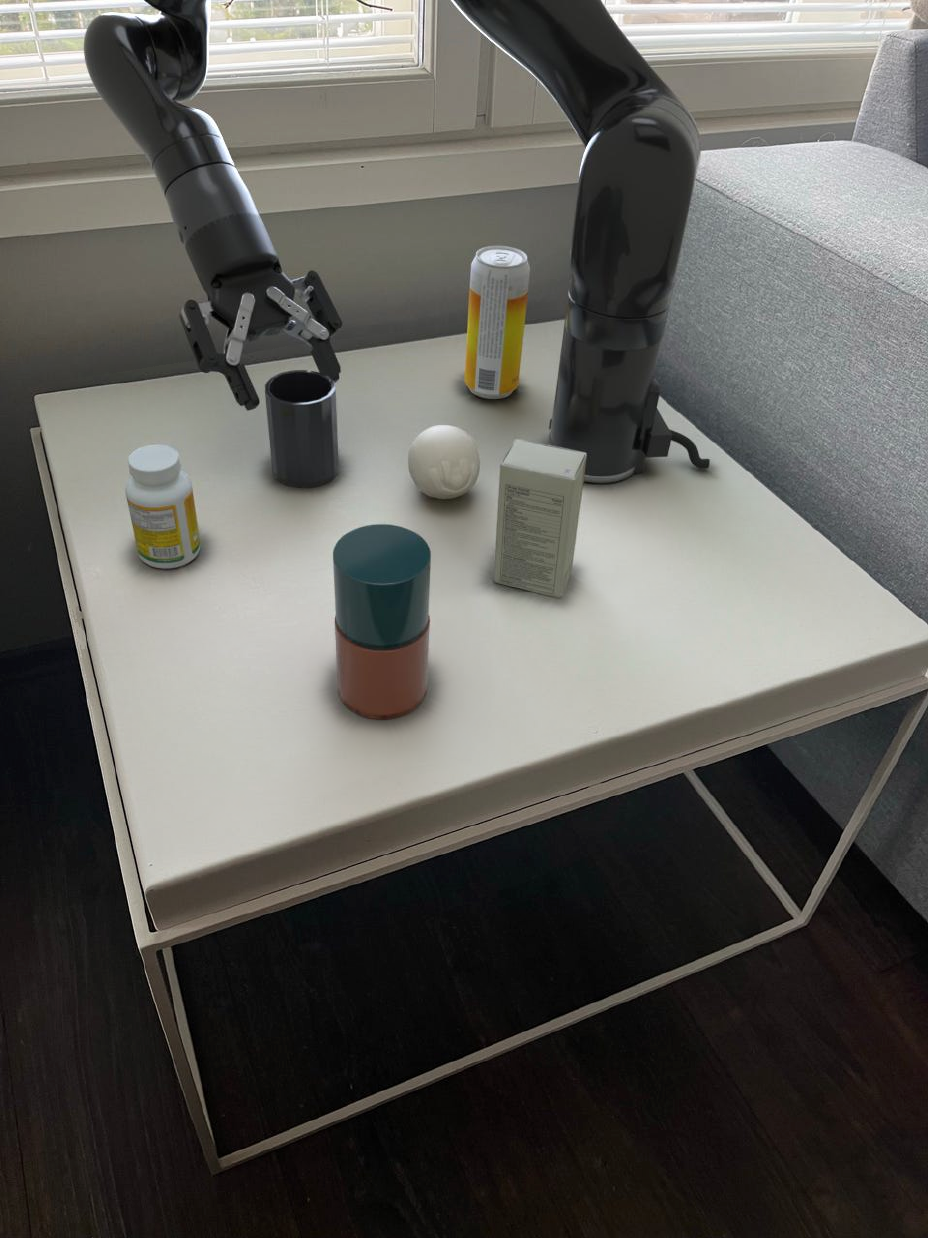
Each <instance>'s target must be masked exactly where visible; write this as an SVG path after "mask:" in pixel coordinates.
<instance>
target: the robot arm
mask: <svg viewBox="0 0 928 1238" xmlns="http://www.w3.org/2000/svg"><path fill="white" fill-rule="evenodd" d="M450 1H451V2H452V3H453V4H454V6H455V7H456V8H457V9H458V11H459V12H461V14H462V15H463V16H464V17H465V19H466V20H468V21H469V22H470V23H471V24H472V25H473V26H474V27H475V28H476V29H477V30H478V31H480V33H482V34H483V35H484V36H485V37H486V38H488V39H489V41H491V42H492V43H493V44H494V45H495V46H497V47H498V48H499V49H501V50H502V51H503V52H504V53H505V54H507V55H508V56H510V57H511V58H512V59H513V60H515V61H516V62H517V63H518V64H519V65H521V66H522V67H523V68H524V69H526V70H527V71H528V73H530V74H531V75H532V76H534V78H536V80H538V82H539V83H540V84H541V85H542V86H543V87H544V88H545V89H546V91H547V92H548V93H549V95H551V98H553V100H554V101H555V102H556V104H557V106H558V107H559V108H560V110H561V111H562V112H563V114H564V116H565V118H566V119H567V120H568V122H569V123H570V125H571V126H572V128H573V129H574V131H575V133H576V135H577V137H578V138H579V140H580V141H581V143H582V144H583V147H584V148H585V151H584V153H583V157H582V159H581V164H580V169H579V174H578V175H579V176H578V182H577V189H576V197H575V205H574V215H573V224H572V232H571V233H572V234H571V241H570V242H571V243H570V250H569V251H570V252H569V272H570V273H569V274H570V275H569V285H568V291H567V301H566V308H565V313H564V314H565V316H564V322H563V323H564V324H563V331H562V337H561V346H560V354H559V362H558V368H557V369H558V370H557V377H556V385H555V393H554V400H553V408H552V415H551V419H549V424H548V425H549V426H548V430H550V431H549V435H548V442H547V445H552V446H556V447H562V448H566V449H571V450H576V451H580V452H585V453H586V454H587V456H586V465H585V473H584V481H583V482H587V483H594V484H608V483H609V484H610V483H614V482H619V481H622V480H625V479H627V478H629V477H630V476H633V474H640V473H641V474H642V473H644V470H645V466H646V462H647V461H646V460H647V458H667V457H668V456H669V451H670V448H671V443H672V442H674V443H677V444H679V445H680V446H682V447H683V448H684V449H685V450H686V451H687V454H688V458H689V460H690V463H691V464H692V465H693V466H694V467H696V468H698V469H701V470H702V469H703V470H705V469H709V468H710V462H711V461H710V458H701V457H700V454H699V450H698V446H697V445H696V443H695V442H693V441H692V439H690V438H689V437H687V436H686V435H684V434H682V433H680V432H677V431H676V430H672V429H670V427H668V424H667V423H666V421H665V420H664V417H663V416H662V414H661V412H660V410H659V409H658V404H659V400H660V395H661V394H660V393H661V386H660V384H659V382H658V380H657V379H656V375H657V370H658V366H659V365H658V364H659V361H660V356H661V349H662V345H663V341H664V336H665V330H666V325H667V320H668V316H669V311H670V305H671V302H672V296H673V293H674V288H675V283H676V277H677V274H678V267H679V261H680V256H681V251H682V247H683V240H684V237H685V232H686V227H687V223H688V218H689V214H690V208H691V204H692V198H693V194H694V189H695V183H696V178H697V174H698V170H699V166H700V161H701V153H702V144H701V135H700V131H699V128H698V125H697V122H696V120H695V119H694V117H693V115H692V113H691V112H690V111H689V108H687V106H686V104H684V102H683V101H682V100H681V99H680V97H678V95H677V94H676V93H675V92H674V91H673V90H672V89H671V87H670V86H668V84H667V83H666V82H665V81H664V80H663V79H662V77H660V75H659V74H658V73H657V71H655V70H654V68H653V67H652V66H651V65H650V64H649V62H648V61H647V60H646V59H645V57H644V56H643V55H642V54H641V53H640V51H638V49H637V48H636V47H635V46H634V45H633V43H632V42H631V41H630V40H629V38H628V37H627V36H626V34H625V33H624V32H623V31H622V29H621V28H620V27H619V25H618V24H617V23H616V21H615V20H614V19H613V17H612V16H611V14H610V12H609V11H608V9H607V7H606V5H605V4H604V3H603V1H602V0H450ZM143 2H144V3H145V4H147V5H149V6H150V7H151V8H153V9H155V10H156V11H158V12H159V13H158V14H157V15H149V14H137V13H124V12H106V13H101V14H100V15H97V16H95V17H94V18H93V19H92V20H91V21H90V23H89V24H88V26H87V27H86V30H85V34H84V37H83V38H84V39H83V56H84V62H85V66H86V69H87V73H88V75H89V78H90V80H91V82H92V84H93V86H94V88H95V90H96V91H97V94H98V95H99V96H100V99H101V100H102V101H103V102H104V104H105V105H106V107H108V109H109V111H110V112H111V113H112V114H113V116H114V117H115V119H116V120H117V121H118V122H119V123H120V124H121V126H122V127H123V128H124V130H125V131H126V132H127V134H128V135H129V136H130V137H131V139H132V140H133V141H134V143H135V144H136V145H137V146H138V148H139V149H140V150H141V151H142V153H143V154H144V155H145V156H146V158H147V159H148V161H149V164H150V167H151V168H152V171H153V174H154V176H155V177H156V180H157V182H158V184H159V187H160V189H161V191H162V193H163V195H164V198H165V200H166V202H167V205H168V206H167V207H168V209H169V212H170V216H171V219H172V222H173V225H174V227H175V230H176V231H177V236H178V239H179V241H180V242H181V244H183V247H184V249H185V252H186V254H187V256H188V258H189V260H190V263H191V265H192V267H193V270H194V272H195V273H196V277H197V278H198V280H199V283H200V285H201V287H202V289H203V291H204V292H205V294H206V296H207V300H206V301H201V302H197V301H196V300H194V299H188V300H187V301H186V302H185V303H184V305H183V307H182V309H181V310H180V311H179V312H180V313H179V315H178V316H179V320H180V322H181V325H182V328H183V331H184V333H185V336H186V338H187V341H188V343H189V346H190V348H191V352H192V354H193V357H194V358H195V362H196V364H197V367H198V369H199V371H200V372H202V373H203V374H209V373H213V372H214V373H220V374H222V375H223V377H224V378H225V379H226V381H227V384H228V386H229V388H230V391H231V392H232V394H233V397H234V399H235V401H236V403H237V404H238V405H239V407H243V406H244V408H245V410H246V411H247V412H249V411H252V410H255V409H257V407H258V406H259V405H260V403H261V401H260V398H259V395H258V393H257V391H256V388H255V386H254V384H253V382H252V379H251V377H250V375H249V373H248V371H247V369H246V366H245V364H243V363H242V364H241V363H240V360H241V357H242V353H243V352H242V351H243V348H244V344H245V342H246V340H247V341H249V342H250V343H251V342H253V341H254V342H255V341H257V340H259V339H261V338H262V337H267V336H268V337H271V336H276V335H279V334H280V333H281V332H282V331H283V332H284V333H285V334H286V335H288V336H290V337H291V338H297V339H298V340H300V341H301V342H303V343H304V344H306V345H307V346H308V347H310V348H311V350H310V354H311V356H312V359H313V360H314V363H315V365H316V367H317V370H318V372H320V373H322V374H324V375H326V376H329V377H330V378H331V379H332V380H333V381H334V382H335V384H336V383H337V382H338V381H339V380H340V374H341V373H342V369H341V368H342V367H341V365H340V362H339V361H338V358H337V355H336V353H335V351H334V348H333V346H332V344H331V340H330V339H332V338H333V337H334V336H335V334H336V333H338V331H339V330H340V329H341V328H342V327H343V321H342V319H341V317H340V314H339V312H338V311H337V309H336V306H335V305H334V302H333V300H332V298H331V297H330V294H329V293H328V291H327V289H326V287H325V284H324V283H323V281H322V279H321V276H320V275H319V273H318V271H316V270H313V269H312V270H309V271H307V273H306V274H305V275H304V276H301V277H299V278H295V279H290V278H289V277H288V276H287V275H286V274H285V273H284V271H283V269H282V266H281V262H280V259H279V256H278V253H277V251H276V250H275V247H274V245H273V243H272V240H271V238H270V235H269V233H268V231H267V229H266V227H265V226H266V225H265V224H264V222H263V220H262V218H261V214H260V213H259V210H258V208H257V206H256V204H255V202H254V199H253V197H252V195H251V193H250V191H249V189H248V187H247V186H246V183H245V182H244V181H243V179H242V178H241V175H240V174H239V172H238V170H237V168H236V165H235V163H234V161H233V158H232V156H231V154H230V152H229V150H228V147H227V145H226V143H225V140H224V138H223V136H222V134H221V132H220V130H219V127H218V125H217V124H216V122H215V120H214V119H213V118H212V117H211V116H210V115H209V114H207V113H206V112H204V111H203V110H201V109H196V108H194V107H190V106H187V105H184V103H187V102H189V101H191V100H192V99H193V98H195V96H196V95H197V94H198V93H199V92H200V90H201V89H202V87H203V86H204V83H205V81H206V78H207V74H208V68H209V40H210V25H211V23H210V22H211V5H212V4H211V3H212V0H143ZM295 295H297V296H298V297H299V299H300V301H302V302H305V303H306V304H307V307H308V308H309V311H310V313H309V312H308V311H307V310H306V309H304V308H303V307H302V306H300V305H299V304H297V303H296V302H294V300H295V299H294V298H295ZM311 315H312V316H313V317H311ZM210 316H211V317H212V318H213V319H214V320H216V321H217V322H219V323H220V324H221V325H223V326H224V327H225V328H227V329H226V334H225V337H224V341H223V346H222V353H219V352H217V349H216V346H215V344H214V341H213V339H212V336H211V333H210V330H209V328H208V325H209V323H210ZM290 318H291V319H290Z"/></svg>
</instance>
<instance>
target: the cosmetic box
mask: <svg viewBox="0 0 928 1238" xmlns="http://www.w3.org/2000/svg"><path fill="white" fill-rule="evenodd" d="M586 456H587V454H586V453H585V452H580V451H576V450H571V449H566V448H562V447H556V446H552V445H548V443H542V442H536V441H532V440H526V439H520V438H515V439H514V441H513V442H512V444H511V445H510V447H508V449H507V451H506V452H505V455H504V456H503V458H502V459H501V461H500V463H499V478H498V493H497V494H498V495H497V513H496V529H495V546H494V560H493V561H494V562H493V564H494V565H493V577H492V580H493V582H494V583H495V584H500V585H504V586H508V587H510V588H516V589H519V590H524V591H527V592H528V591H529V592H533V593H537V594H543V595H546V596H550V597H555V598H561V597H562V595H563V593H564V591H565V589H566V587H567V584H568V582H569V580H570V577H571V574H572V571H573V567H574V566H573V564H574V557H575V549H576V544H577V543H576V541H577V534H578V527H579V520H580V519H579V518H580V511H581V503H582V496H583V489H584V488H583V487H584V482H585V481H584V473H585V465H586Z"/></svg>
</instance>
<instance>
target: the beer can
mask: <svg viewBox="0 0 928 1238" xmlns="http://www.w3.org/2000/svg"><path fill="white" fill-rule="evenodd" d="M530 274H531V266H530V263H529V261H528V255H527V254H526V253H525V252H524V251H522V250H521V249H519V248H517V247H512V246H506V245H488V246H484V247H481V248H479V249H478V250H477V251H476V252H475V256H474V258H473V259H472V262H471V264H470V279H469V292H468V293H469V295H468V311H467V326H466V329H467V330H466V344H465V345H466V346H465V362H464V377H463V379H464V384H465V385H466V387H468V389H469V391H470V392H471V393H472V394H474V395H475V396H476V397H479V398H483V399H488V400H497V399H504V398H507V397H509V396H510V395H511V394H512V393H513V391H514V390H516V389H517V388H518V386H519V383H520V372H521V363H522V354H523V353H522V352H523V345H524V343H523V342H524V333H525V324H526V323H525V322H526V316H527V315H526V314H527V313H526V312H527V304H528V295H529V293H528V292H529V286H530V285H529V284H530Z"/></svg>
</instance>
